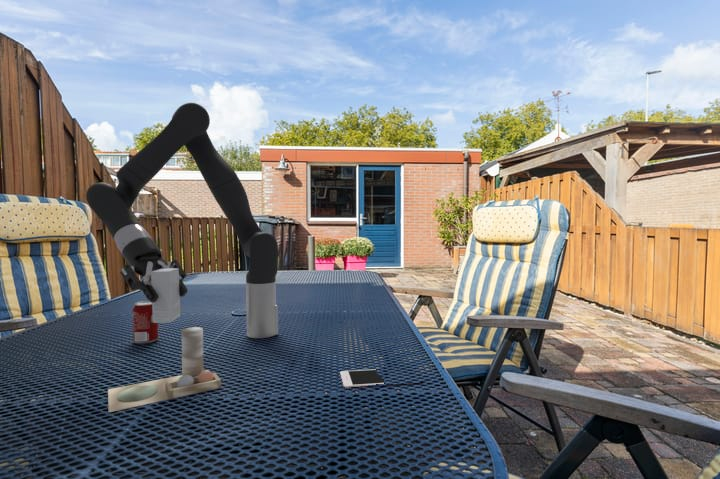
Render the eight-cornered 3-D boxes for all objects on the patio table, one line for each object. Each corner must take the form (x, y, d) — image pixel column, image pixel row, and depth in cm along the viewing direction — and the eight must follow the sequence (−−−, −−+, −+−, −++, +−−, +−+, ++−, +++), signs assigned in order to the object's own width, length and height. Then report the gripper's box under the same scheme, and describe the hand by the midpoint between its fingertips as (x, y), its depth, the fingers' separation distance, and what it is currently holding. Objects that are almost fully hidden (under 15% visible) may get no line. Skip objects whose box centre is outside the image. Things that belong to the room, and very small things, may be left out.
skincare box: (162, 316, 96) (161, 268, 95) (180, 316, 96) (179, 268, 96) (151, 323, 90) (150, 271, 89) (170, 322, 90) (169, 271, 89)
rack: (208, 374, 93) (207, 324, 92) (221, 393, 83) (220, 336, 82) (108, 395, 82) (106, 337, 81) (108, 418, 72) (107, 353, 71)
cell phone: (423, 385, 88) (423, 381, 88) (343, 390, 85) (343, 386, 85) (412, 370, 97) (412, 366, 96) (339, 374, 94) (339, 371, 94)
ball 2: (212, 381, 86) (211, 367, 85) (215, 386, 83) (215, 372, 83) (196, 385, 84) (196, 370, 84) (199, 390, 81) (199, 375, 81)
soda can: (147, 345, 115) (146, 305, 114) (127, 344, 116) (126, 304, 116) (163, 339, 122) (162, 301, 121) (144, 338, 123) (143, 300, 122)
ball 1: (192, 386, 83) (192, 371, 83) (195, 391, 81) (195, 376, 81) (176, 389, 82) (175, 374, 81) (178, 395, 79) (178, 379, 79)
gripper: (114, 237, 89) (149, 291, 84) (170, 235, 102) (202, 282, 97) (101, 259, 92) (134, 313, 87) (157, 254, 104) (188, 301, 100)
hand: (170, 297), depth 92 cm, fingers closed on skincare box, 7 cm apart
